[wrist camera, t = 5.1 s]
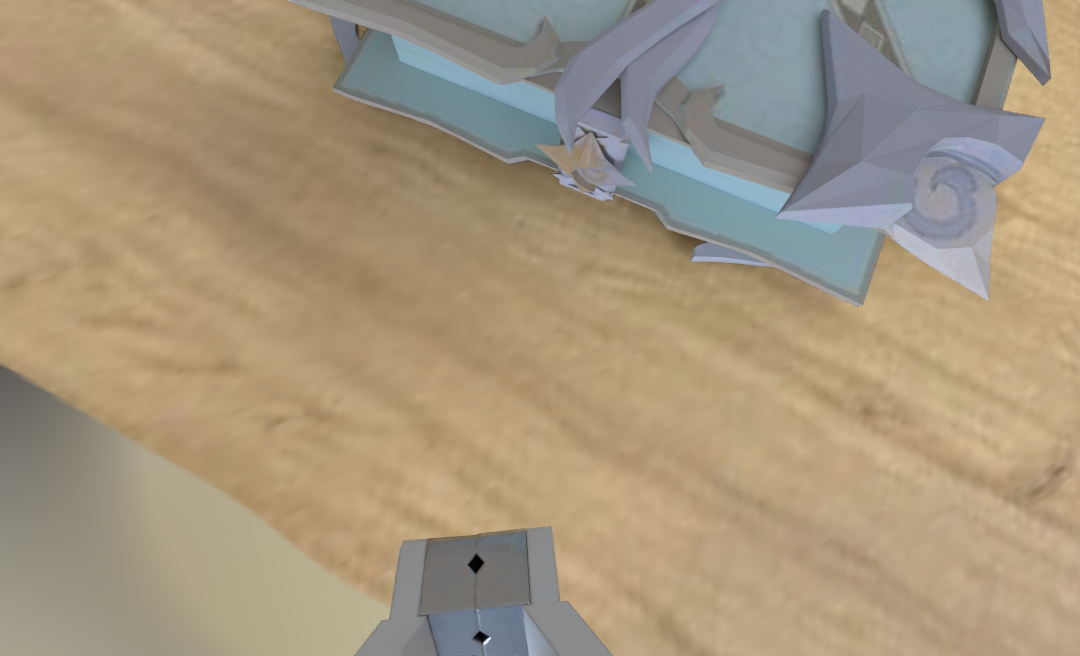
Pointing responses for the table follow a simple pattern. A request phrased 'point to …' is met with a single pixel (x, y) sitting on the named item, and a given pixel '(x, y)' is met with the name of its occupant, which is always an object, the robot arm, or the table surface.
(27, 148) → the table surface
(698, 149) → the ornate book
